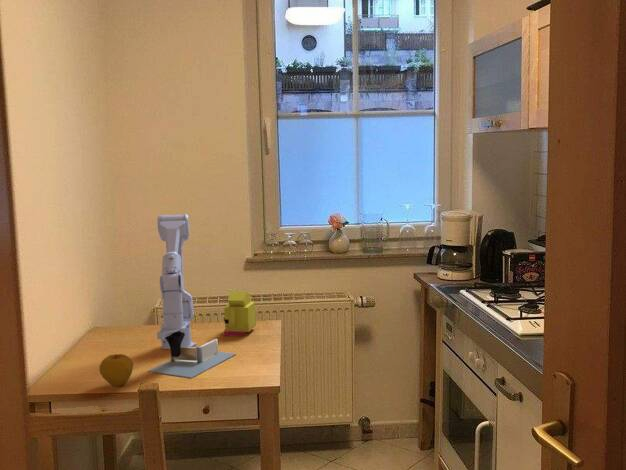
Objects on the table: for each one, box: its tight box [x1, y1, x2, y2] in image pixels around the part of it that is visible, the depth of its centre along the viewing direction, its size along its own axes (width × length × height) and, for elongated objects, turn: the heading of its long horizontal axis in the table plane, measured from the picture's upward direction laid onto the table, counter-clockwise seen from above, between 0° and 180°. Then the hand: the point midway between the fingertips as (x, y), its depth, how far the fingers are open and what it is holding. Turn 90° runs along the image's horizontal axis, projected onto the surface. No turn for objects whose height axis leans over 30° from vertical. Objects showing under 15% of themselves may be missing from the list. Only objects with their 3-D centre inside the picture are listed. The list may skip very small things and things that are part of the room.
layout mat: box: [147, 349, 237, 379], centre depth 198 cm, size 16×23×1 cm
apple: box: [98, 353, 134, 387], centre depth 180 cm, size 9×9×9 cm
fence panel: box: [169, 346, 197, 361], centre depth 198 cm, size 8×1×5 cm, turn 76°
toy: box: [223, 290, 257, 337], centre depth 230 cm, size 13×10×15 cm
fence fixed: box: [195, 338, 219, 363], centre depth 201 cm, size 1×10×5 cm, turn 154°
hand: (175, 356), depth 197 cm, fingers closed
